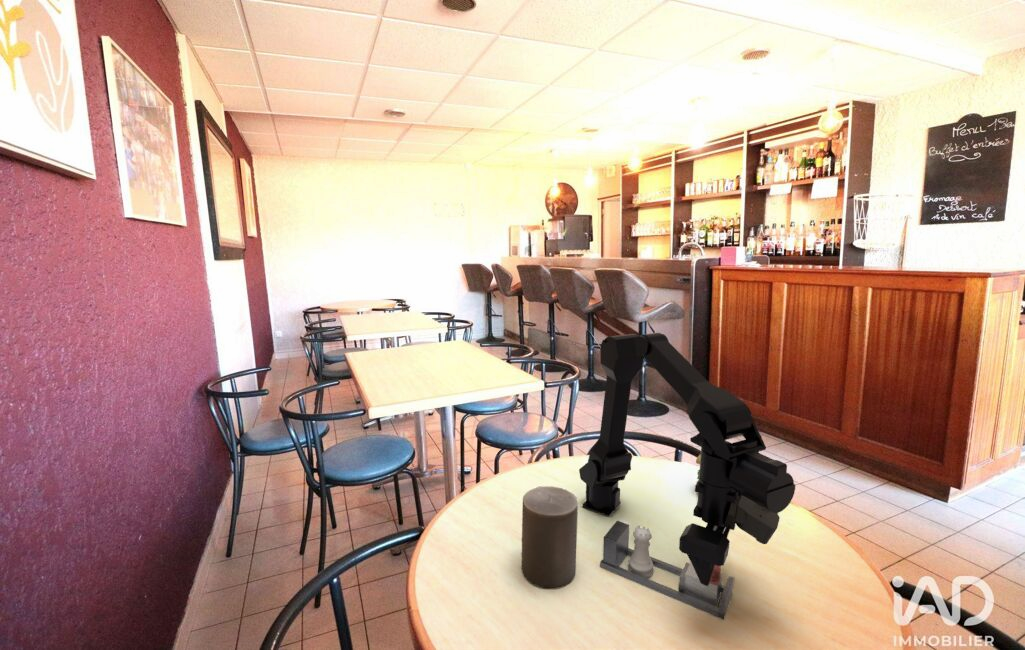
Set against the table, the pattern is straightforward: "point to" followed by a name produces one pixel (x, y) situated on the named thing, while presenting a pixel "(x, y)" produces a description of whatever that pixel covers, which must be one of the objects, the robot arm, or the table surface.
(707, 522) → the robot arm
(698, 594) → the ram
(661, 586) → the press bed
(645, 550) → the rook chess piece
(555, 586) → the pillar candle
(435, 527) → the table surface
